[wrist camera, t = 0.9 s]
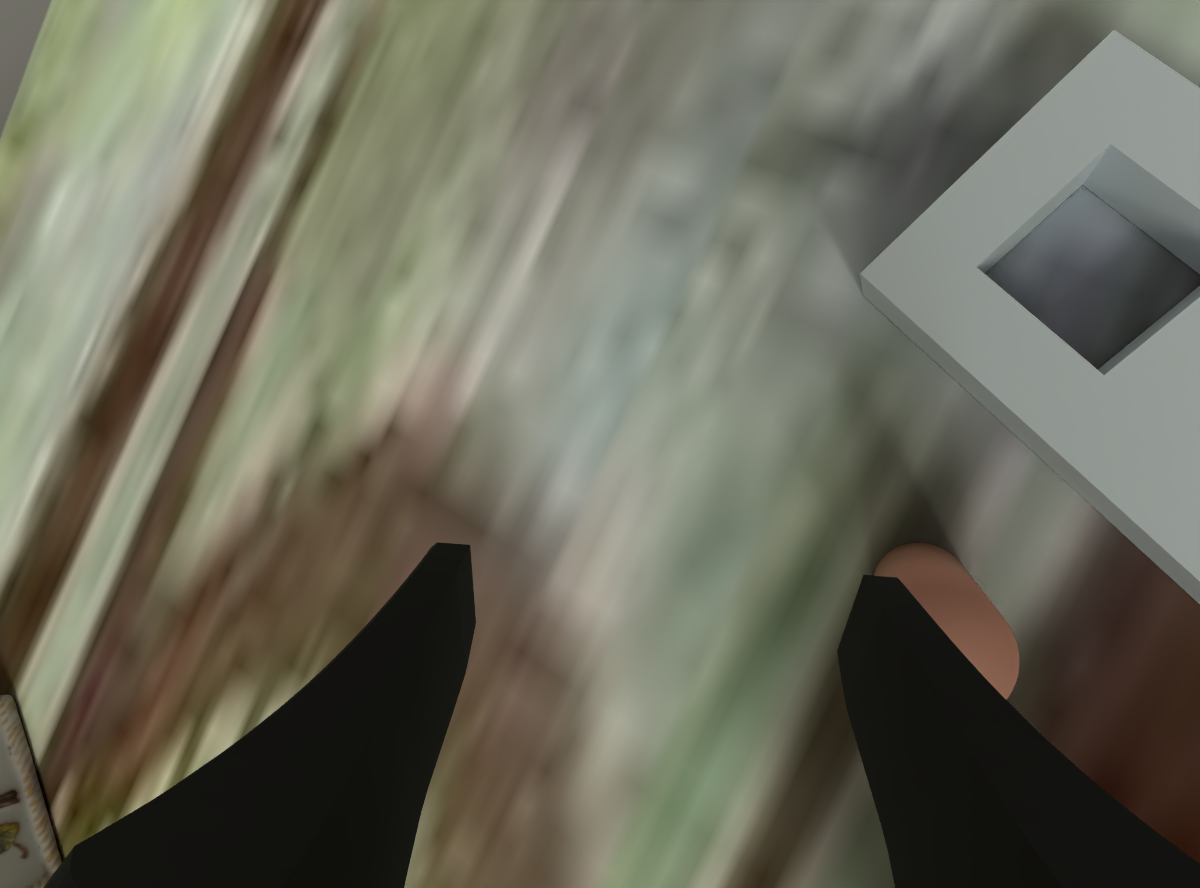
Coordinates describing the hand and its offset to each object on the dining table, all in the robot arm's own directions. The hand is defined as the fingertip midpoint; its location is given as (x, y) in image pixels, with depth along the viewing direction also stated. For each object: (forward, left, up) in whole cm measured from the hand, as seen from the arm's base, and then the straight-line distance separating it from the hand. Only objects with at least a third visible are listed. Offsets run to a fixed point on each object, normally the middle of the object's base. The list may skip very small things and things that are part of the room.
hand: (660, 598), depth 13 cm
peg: (-4, -3, -13) cm, 14 cm away
